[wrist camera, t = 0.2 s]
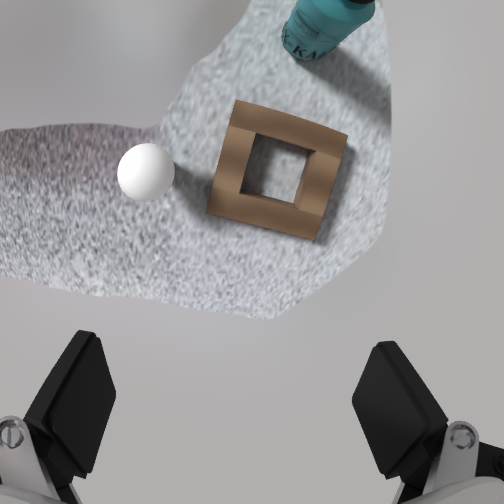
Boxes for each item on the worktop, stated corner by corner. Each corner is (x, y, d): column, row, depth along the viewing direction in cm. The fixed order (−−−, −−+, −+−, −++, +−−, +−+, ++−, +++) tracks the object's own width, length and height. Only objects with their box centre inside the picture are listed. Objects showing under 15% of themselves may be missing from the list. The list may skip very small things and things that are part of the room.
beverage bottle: (295, 16, 28) (344, -65, 9) (335, 44, 30) (413, -16, 11) (267, 46, 30) (301, -34, 11) (309, 75, 31) (380, 21, 13)
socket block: (235, 103, 33) (235, 99, 29) (338, 135, 35) (348, 135, 31) (208, 206, 37) (205, 213, 34) (308, 232, 39) (314, 240, 36)
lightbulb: (194, 153, 35) (178, 157, 24) (175, 196, 36) (153, 217, 26) (152, 136, 33) (121, 134, 23) (135, 178, 35) (100, 193, 25)
